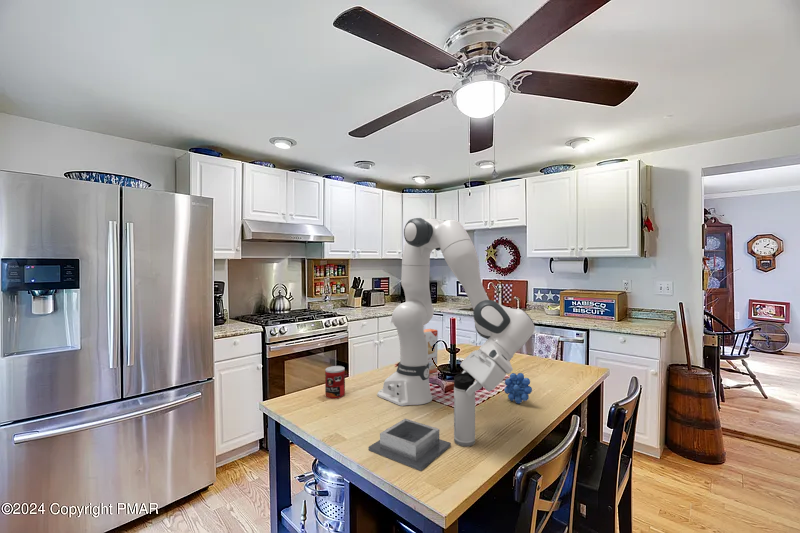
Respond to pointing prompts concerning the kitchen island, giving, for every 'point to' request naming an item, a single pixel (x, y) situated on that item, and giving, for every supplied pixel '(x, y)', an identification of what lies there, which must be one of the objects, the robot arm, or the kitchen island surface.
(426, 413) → the kitchen island surface
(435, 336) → the cracker box
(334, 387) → the canned food
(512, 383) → the grapes
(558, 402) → the kitchen island surface
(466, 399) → the travel mug
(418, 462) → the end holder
